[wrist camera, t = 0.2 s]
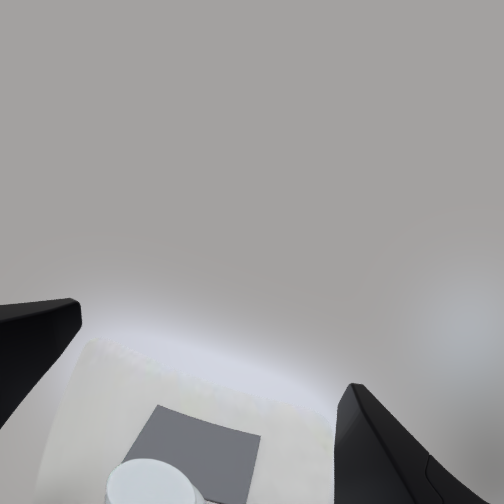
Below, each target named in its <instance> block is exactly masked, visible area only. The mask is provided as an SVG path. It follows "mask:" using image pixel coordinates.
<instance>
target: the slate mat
mask: <svg viewBox="0 0 504 504" xmlns="http://www.w3.org/2000/svg"><path fill="white" fill-rule="evenodd" d="M260 437H261V436H259V435H254V434H250V433H246V432H242V431H238V430H234V429H230V428H226V427H223V426H219V425H216V424H212V423H209V422H206V421H202V420H199V419H196V418H193V417H190V416H187V415H184V414H181V413H179V412H176V411H173V410H170V409H168V408H165V407H163V406H160V405H157V407H156V408H155V410H154V411H153V413H152V415H151V416H150V418H149V420H148V421H147V423H146V424H145V426H144V428H143V429H142V431H141V432H140V434H139V436H138V437H137V439H136V441H135V442H134V444H133V445H132V447H131V449H130V450H129V452H128V453H127V455H126V457H125V458H124V460H123V461H122V463H124V462H126V461H129V460H133V459H143V458H144V459H154V460H159V461H162V462H165V463H167V464H170V465H172V466H173V467H175V468H177V469H178V470H179V471H181V472H182V473H183V474H184V475H185V476H186V477H187V478H188V479H189V481H190V482H191V484H192V485H194V486H195V487H196V488H197V489H198V491H199V492H200V493H201V495H202V496H203V498H204V500H208V501H212V502H215V503H219V504H246V501H247V496H248V492H249V488H250V484H251V479H252V475H253V470H254V466H255V461H256V456H257V452H258V447H259V442H260ZM122 463H121V464H122Z"/></svg>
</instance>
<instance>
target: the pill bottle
mask: <svg viewBox="0 0 504 504" xmlns="http://www.w3.org/2000/svg"><path fill="white" fill-rule="evenodd" d="M105 504H206V502H205V500H204V498H203V496H202V495H201V493H200V492H199V491H198V489H197V488H196V487H195V486H194V485H192V484H191V482H190V481H189V479H188V478H187V477H186V476H185V475H184V474H183V473H182V472H181V471H179V470H178V469H177V468H175V467H173V466H172V465H170V464H167V463H165V462H162V461H159V460H154V459H144V458H143V459H133V460H129V461H126V462H124V463H122V464H120V465H119V466H117V467H116V468H115V469H114V470H113V471H112V472H111V474H110V475H109V477H108V480H107V483H106V494H105Z"/></svg>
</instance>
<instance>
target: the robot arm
mask: <svg viewBox="0 0 504 504" xmlns="http://www.w3.org/2000/svg"><path fill="white" fill-rule="evenodd" d="M81 326H82V316H81V306H80V303H79V302H78V301H76V300H74V299H71V298H65V299H56V300H47V301H38V302H29V303H18V304H8V305H0V429H1V428H2V426H3V425H4V424H5V422H6V421H7V420H8V418H9V417H10V416H11V414H12V413H13V412H14V411H15V409H16V408H17V407H18V405H19V404H20V403H21V402H22V401H23V399H24V398H25V397H26V396H27V394H28V393H29V392H30V391H31V390H32V388H33V387H34V386H35V385H36V384H37V382H38V381H39V380H40V379H41V378H42V377H43V375H44V374H45V373H46V372H47V371H48V370H49V368H50V367H51V366H52V365H53V364H54V363H55V362H56V361H57V359H58V358H59V357H60V356H61V354H62V353H63V352H64V350H65V349H66V347H67V346H68V345H69V343H70V342H71V341H72V339H73V338H74V337H75V335H76V334H77V332H78V331H79V330H80V328H81ZM334 483H335V484H334V488H335V489H334V504H489V503H487V502H486V501H484V500H483V499H481V498H480V497H479V496H477V495H476V494H475V493H473V492H472V491H471V490H470V489H469V488H467V487H466V486H465V485H463V484H462V483H461V482H460V481H458V480H457V479H456V478H455V477H454V476H453V475H452V474H450V473H449V472H448V471H447V470H446V469H445V468H444V467H443V466H442V465H441V464H440V463H439V462H438V461H437V460H435V458H434V457H433V456H432V455H429V452H428V451H427V450H426V449H425V448H424V447H423V446H422V445H421V444H420V443H419V442H418V441H417V440H416V439H415V438H414V437H413V436H412V435H411V434H410V433H409V432H408V431H407V430H406V429H405V428H404V427H403V426H402V425H401V424H400V422H399V421H397V419H396V418H395V417H394V416H393V415H392V414H391V413H390V412H389V411H388V410H387V409H386V408H385V407H384V406H383V405H382V404H381V403H380V402H379V401H378V400H377V399H376V398H375V396H373V394H372V393H371V392H370V391H369V390H368V389H367V388H366V387H365V386H364V385H362V384H355V383H351V384H349V386H348V387H347V389H346V391H345V392H344V394H343V396H342V398H341V400H340V402H339V404H338V410H337V422H336V434H335V445H334Z"/></svg>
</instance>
